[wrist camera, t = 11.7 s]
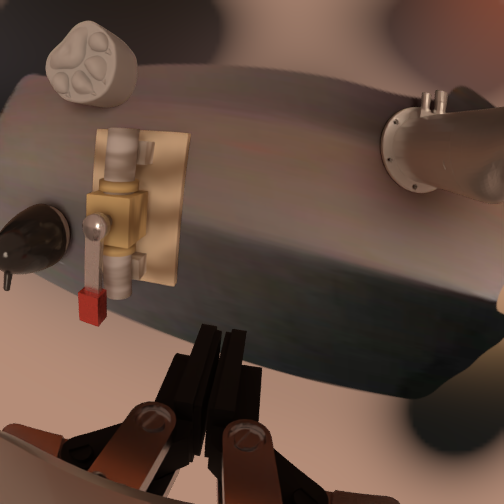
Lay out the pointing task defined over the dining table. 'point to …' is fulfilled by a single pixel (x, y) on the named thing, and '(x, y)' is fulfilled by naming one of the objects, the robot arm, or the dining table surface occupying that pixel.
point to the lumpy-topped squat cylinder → (92, 67)
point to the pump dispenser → (32, 241)
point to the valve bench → (157, 199)
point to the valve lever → (94, 270)
